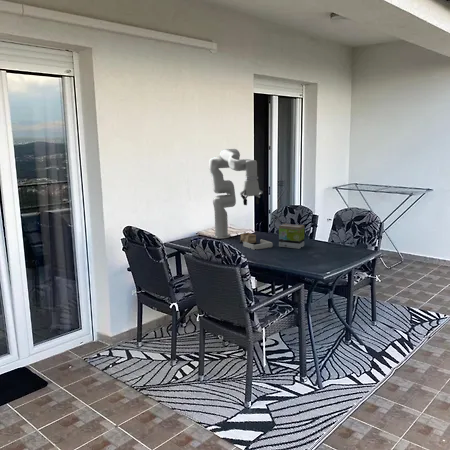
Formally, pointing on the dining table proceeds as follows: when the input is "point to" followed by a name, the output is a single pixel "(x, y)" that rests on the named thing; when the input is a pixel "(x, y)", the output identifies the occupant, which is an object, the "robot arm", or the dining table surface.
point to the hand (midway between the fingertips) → (251, 204)
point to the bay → (258, 245)
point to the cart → (248, 238)
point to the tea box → (291, 236)
